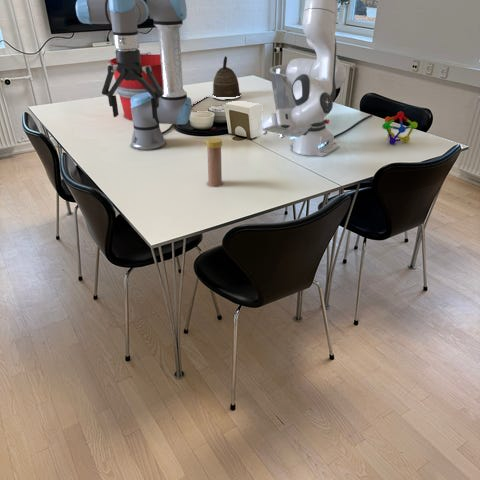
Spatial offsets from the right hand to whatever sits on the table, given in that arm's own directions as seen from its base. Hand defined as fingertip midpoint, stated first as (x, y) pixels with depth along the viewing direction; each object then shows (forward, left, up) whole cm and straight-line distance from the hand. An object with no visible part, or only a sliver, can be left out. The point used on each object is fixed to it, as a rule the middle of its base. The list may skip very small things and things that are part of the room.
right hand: (271, 134), depth 179 cm
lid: (+29, -1, +4) cm, 29 cm away
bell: (-59, -98, -13) cm, 115 cm away
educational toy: (-65, +20, -13) cm, 69 cm away
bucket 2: (-49, -30, -13) cm, 59 cm away
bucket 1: (0, -98, -13) cm, 99 cm away
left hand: (+53, -13, +15) cm, 57 cm away
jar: (+29, -1, -13) cm, 32 cm away
